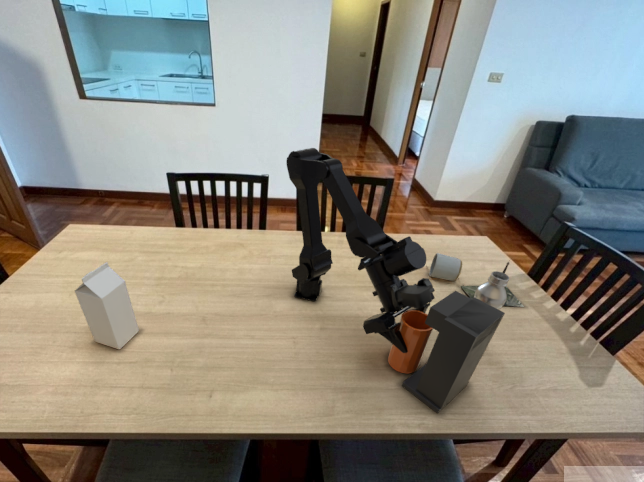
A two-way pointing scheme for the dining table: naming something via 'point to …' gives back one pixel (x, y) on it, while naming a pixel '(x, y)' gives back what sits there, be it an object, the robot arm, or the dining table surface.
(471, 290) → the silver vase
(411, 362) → the orange cup
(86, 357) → the dining table surface
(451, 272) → the ceramic mug
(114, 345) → the milk carton
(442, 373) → the coffee maker
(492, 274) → the silver metal bottle
